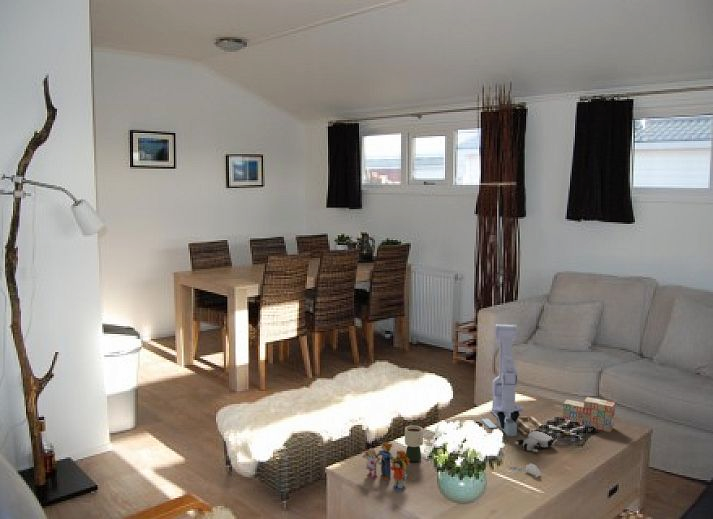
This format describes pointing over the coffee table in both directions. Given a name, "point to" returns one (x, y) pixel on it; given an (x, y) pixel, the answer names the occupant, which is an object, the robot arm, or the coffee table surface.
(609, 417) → the stack of blocks
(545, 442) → the robot toy
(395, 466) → the doll family
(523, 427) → the wooden pallet
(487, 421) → the wing plate
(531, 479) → the coffee table surface
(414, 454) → the character mug
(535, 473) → the car cutout
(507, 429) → the light blue block
